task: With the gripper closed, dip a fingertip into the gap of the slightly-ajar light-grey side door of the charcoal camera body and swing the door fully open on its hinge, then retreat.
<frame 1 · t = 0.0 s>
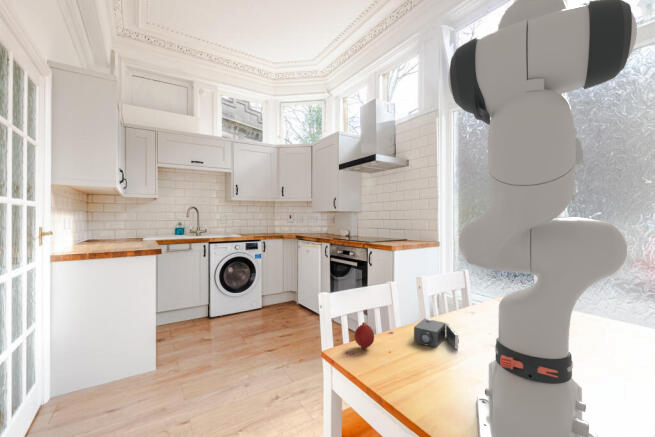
hand: (535, 186, 81), 48 cm above the table, fingers open, 8 cm apart
side door: (452, 335, 91), point 2 cm above the table, hinge at 30.0°
onion: (364, 349, 87), on the table
camera body: (430, 339, 94), on the table
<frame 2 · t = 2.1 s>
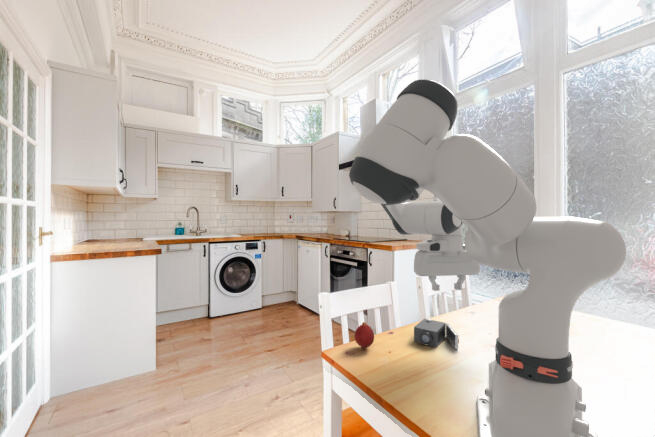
hand: (446, 289, 89), 17 cm above the table, fingers open, 6 cm apart
nothing on the table moved.
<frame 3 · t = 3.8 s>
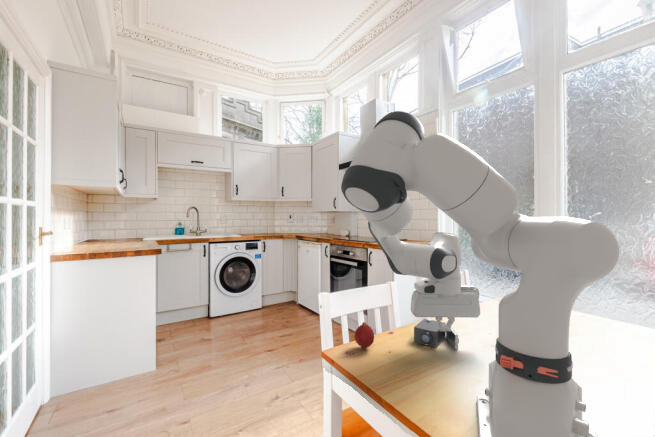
hand: (444, 331, 89), 5 cm above the table, fingers closed
nothing on the table moved.
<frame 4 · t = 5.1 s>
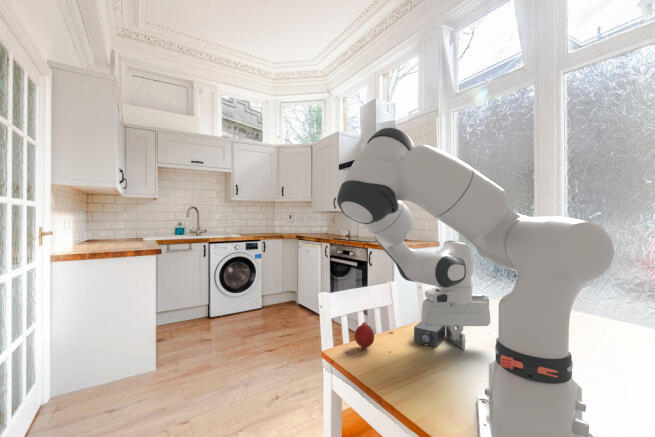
hand: (455, 339, 89), 2 cm above the table, fingers closed
side door: (455, 335, 91), point 2 cm above the table, hinge at 43.2°, touching gripper
everything else where it was.
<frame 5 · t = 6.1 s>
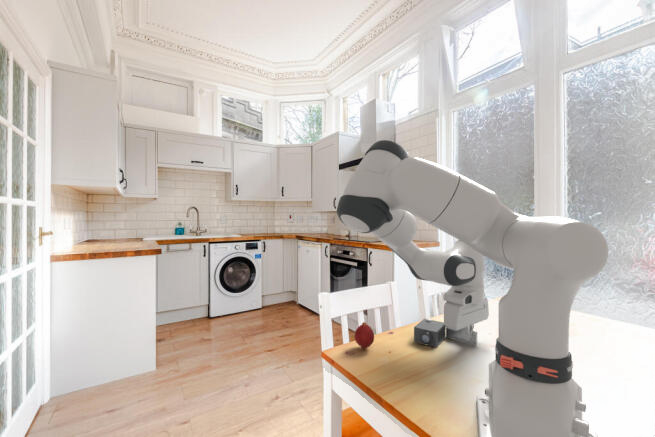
hand: (467, 338, 90), 2 cm above the table, fingers closed
side door: (461, 334, 93), point 2 cm above the table, hinge at 77.7°, touching gripper
everything else where it was.
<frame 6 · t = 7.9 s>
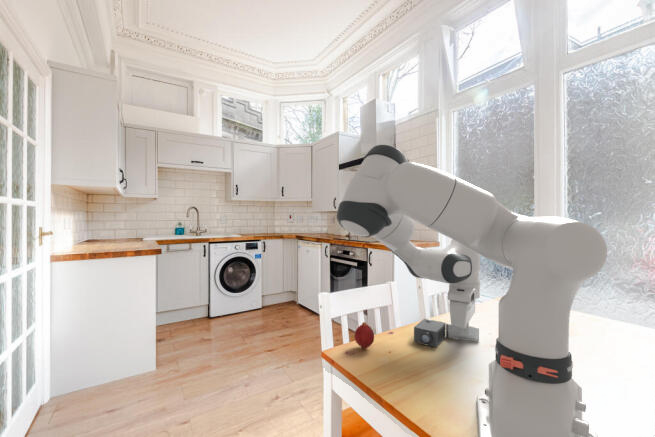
hand: (464, 334, 92), 3 cm above the table, fingers closed
side door: (462, 332, 94), point 2 cm above the table, hinge at 106.5°
everything else where it was.
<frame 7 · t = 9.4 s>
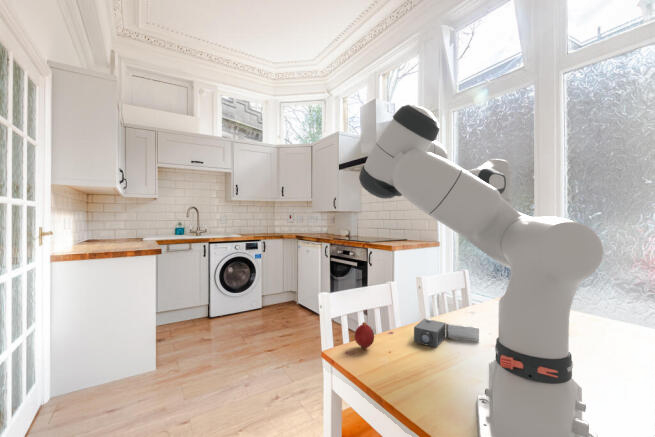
hand: (496, 252, 95), 28 cm above the table, fingers closed
nothing on the table moved.
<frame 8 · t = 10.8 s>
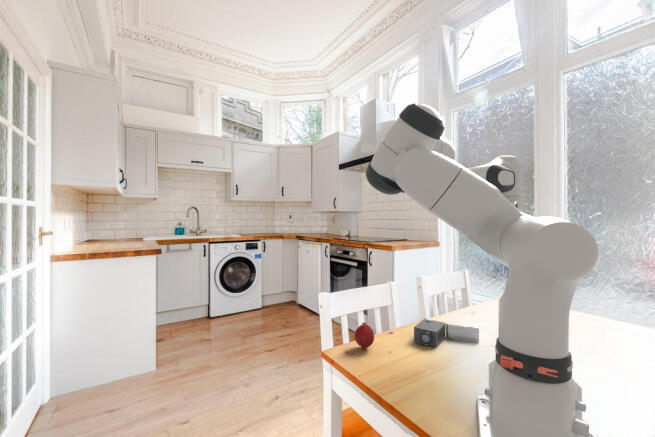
hand: (505, 249, 95), 29 cm above the table, fingers closed
nothing on the table moved.
at the end: side door at +106° (first picture: +30°) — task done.
